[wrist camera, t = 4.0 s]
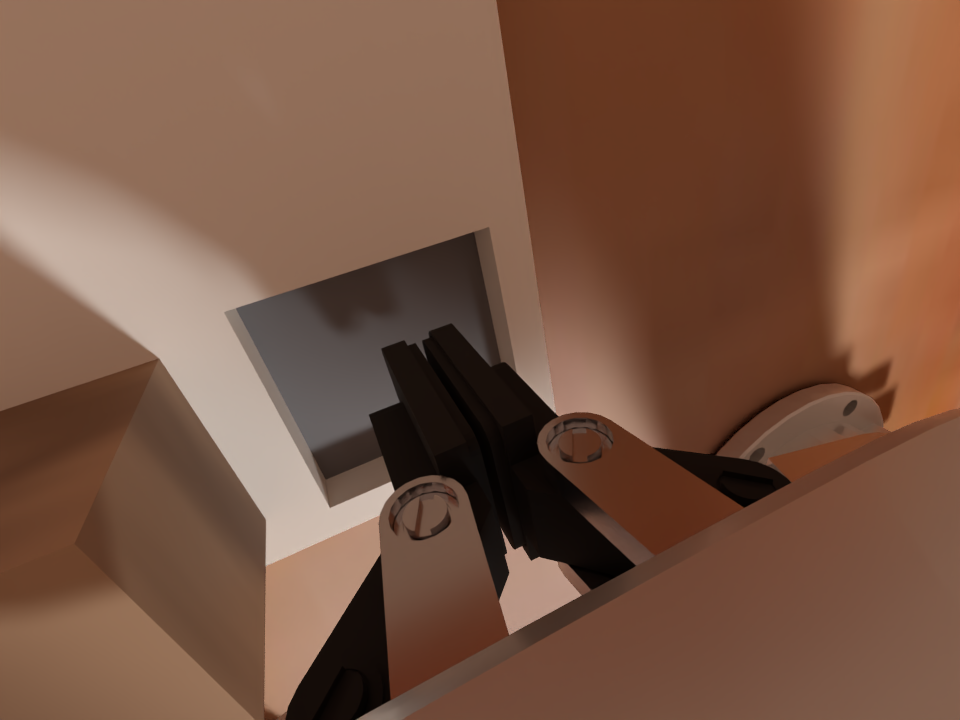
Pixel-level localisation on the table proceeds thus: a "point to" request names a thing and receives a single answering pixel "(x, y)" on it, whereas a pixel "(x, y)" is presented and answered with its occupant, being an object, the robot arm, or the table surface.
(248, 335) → the trap deck
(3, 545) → the walnut block
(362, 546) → the table surface
